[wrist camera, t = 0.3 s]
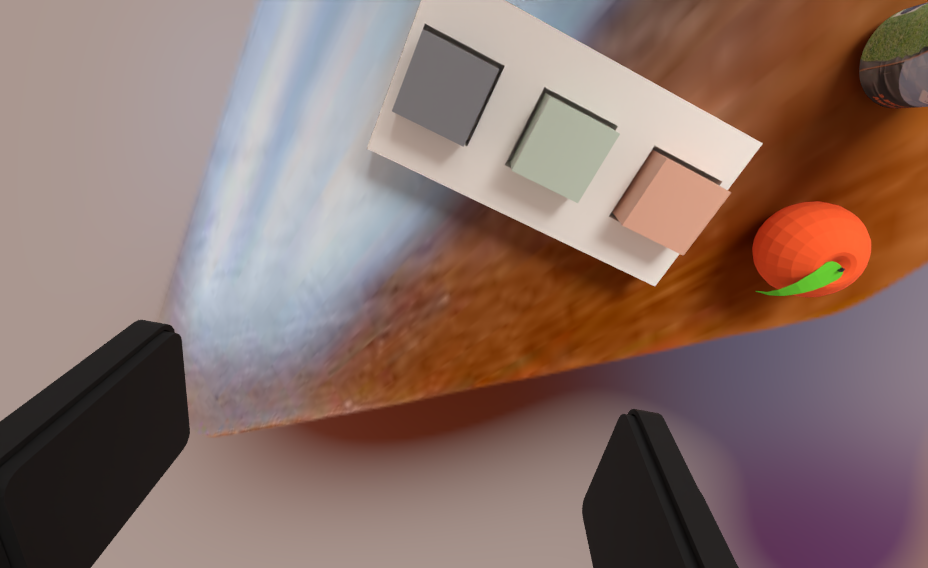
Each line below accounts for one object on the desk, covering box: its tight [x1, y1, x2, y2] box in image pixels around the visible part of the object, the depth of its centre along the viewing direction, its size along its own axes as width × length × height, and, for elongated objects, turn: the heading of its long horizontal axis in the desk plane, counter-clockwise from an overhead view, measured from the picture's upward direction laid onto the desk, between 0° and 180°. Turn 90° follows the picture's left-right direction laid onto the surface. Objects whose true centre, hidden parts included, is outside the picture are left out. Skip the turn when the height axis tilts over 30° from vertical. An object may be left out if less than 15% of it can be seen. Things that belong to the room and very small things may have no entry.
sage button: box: [510, 93, 620, 203], centre depth 31 cm, size 5×5×3 cm
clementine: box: [752, 201, 871, 297], centre depth 34 cm, size 8×7×7 cm
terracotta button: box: [612, 150, 731, 255], centre depth 33 cm, size 5×5×3 cm
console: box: [367, 0, 763, 286], centre depth 33 cm, size 12×24×3 cm, turn 65°
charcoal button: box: [392, 30, 499, 147], centre depth 30 cm, size 5×5×3 cm
